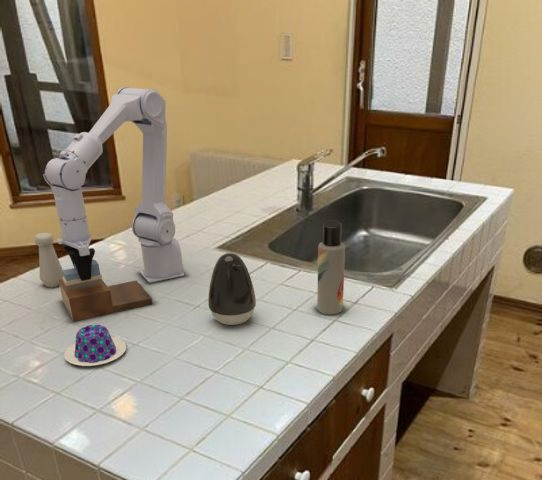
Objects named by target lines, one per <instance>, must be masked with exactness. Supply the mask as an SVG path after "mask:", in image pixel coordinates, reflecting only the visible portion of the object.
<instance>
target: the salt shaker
mask: <svg viewBox="0 0 542 480" xmlns="http://www.w3.org/2000/svg"><path fill="white" fill-rule="evenodd" d="M54 240H55V239H54V236H53V234H52V233H50V232H40V233H37V234H35V236H34V243H35V245H36V246H38V260H39V263H38V265H39V279H40V281H41V282H42V283H43V284H44V285H45V287H46V288H56V287H60V285H59V280H62V279H63V278H62V277H64V275H63V270H64V269H63V267H62V265H61V262H60V260H59V257H58V255H57V252H56V250H55V248H54V244H53V243H54V242H55V241H54Z"/></svg>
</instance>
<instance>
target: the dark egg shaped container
mask: <svg viewBox="0 0 542 480" xmlns="http://www.w3.org/2000/svg"><path fill="white" fill-rule="evenodd" d="M210 277H211V278H210V283H209V289H208V298H207V299H208V300H207V303H208V308H209V310H210V312H211V315H212V316H213V317H214V319H215V320H216V321H217V322H219V323H220V324H223V325H227V326H237V325H241V324H243V323H245V322H247V321H248V320H249V319H250V318H251V317H252V316H253V314H254V312H255V308H256V306H257V299H256V293H255V288H254V283H253V281H252V278H251V275H250V272H249V270H248V267H247V265H246V264H245V262H244V261H243V259H242V258H241V256H239V255H238V254H236V253H233V252H227V253H223V254H222V255H221V256H220V257H218V259H217V260H216V262H215V264H214V267H213V270H212V273H211V276H210Z"/></svg>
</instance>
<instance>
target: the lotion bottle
mask: <svg viewBox="0 0 542 480" xmlns="http://www.w3.org/2000/svg"><path fill="white" fill-rule="evenodd" d="M317 247H318V248H317V293H316V294H317V296H316V297H317V298H316V299H317V301H316V304H317V305H316V306H317V307H316V309H317V311H318V312H319V313H321V314H324V315H330V316H331V315H337V314H340V313H341V312H342V311H343V307H344V291H345V287H344V286H345V264H346V263H345V261H346V259H345V258H346V244H345V243H344V242H342V223H341V222H340V221H338V220H335V219H331V220H327V221H326V222H323V224H322V242H320V243H318V245H317Z"/></svg>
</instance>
